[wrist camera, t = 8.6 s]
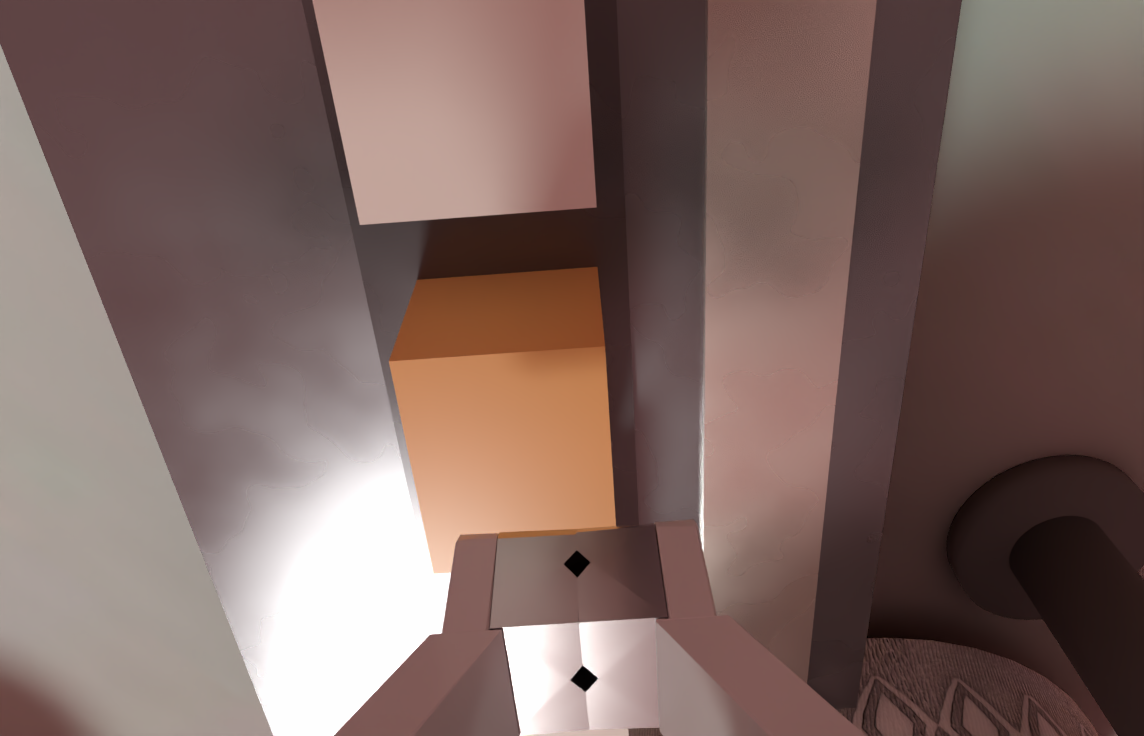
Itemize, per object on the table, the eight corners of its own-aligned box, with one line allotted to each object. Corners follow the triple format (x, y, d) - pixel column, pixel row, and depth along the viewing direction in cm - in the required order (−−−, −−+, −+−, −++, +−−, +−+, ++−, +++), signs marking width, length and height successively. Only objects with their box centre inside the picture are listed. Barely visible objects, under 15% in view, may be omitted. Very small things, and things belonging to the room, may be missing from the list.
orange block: (597, 263, 14) (605, 346, 12) (609, 458, 16) (617, 562, 14) (417, 276, 14) (388, 361, 12) (452, 469, 16) (433, 573, 14)
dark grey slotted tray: (903, -330, 13) (1034, -406, 10) (812, 585, 24) (860, 718, 20) (40, -253, 14) (-151, -297, 10) (316, 616, 24) (272, 753, 20)
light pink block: (571, -162, 11) (573, -169, 9) (589, 144, 13) (596, 207, 11) (342, -142, 11) (282, -144, 9) (396, 159, 13) (359, 225, 11)
